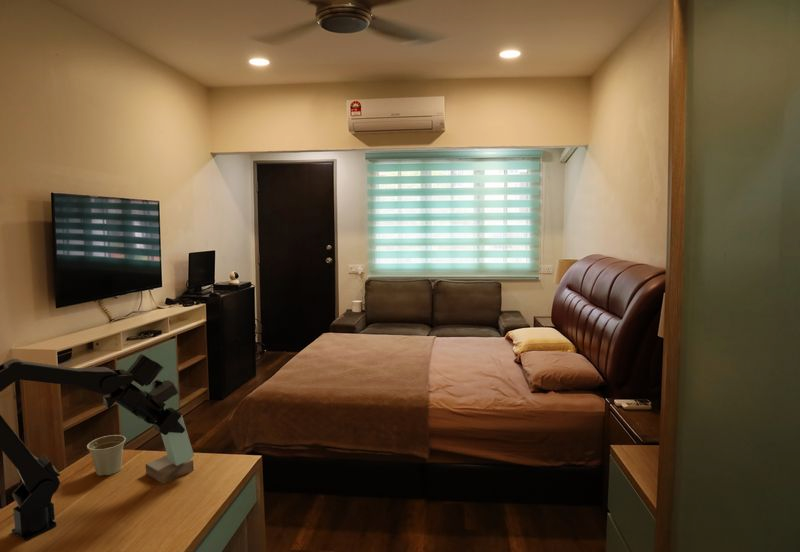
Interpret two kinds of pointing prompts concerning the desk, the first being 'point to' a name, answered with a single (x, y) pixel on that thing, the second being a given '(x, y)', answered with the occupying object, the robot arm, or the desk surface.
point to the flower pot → (107, 454)
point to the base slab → (167, 469)
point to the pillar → (178, 445)
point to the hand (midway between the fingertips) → (179, 428)
